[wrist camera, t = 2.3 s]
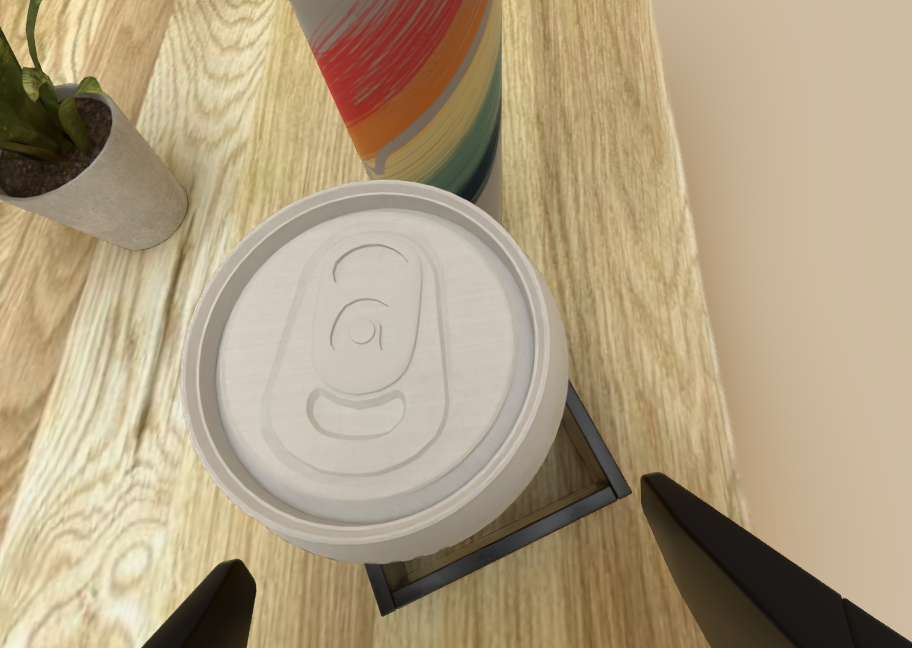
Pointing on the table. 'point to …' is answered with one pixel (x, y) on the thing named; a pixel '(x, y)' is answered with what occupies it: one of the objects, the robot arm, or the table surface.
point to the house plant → (80, 157)
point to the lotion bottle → (417, 88)
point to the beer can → (375, 372)
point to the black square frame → (607, 488)
